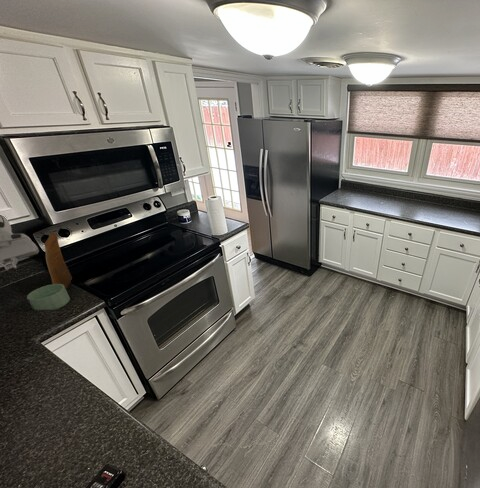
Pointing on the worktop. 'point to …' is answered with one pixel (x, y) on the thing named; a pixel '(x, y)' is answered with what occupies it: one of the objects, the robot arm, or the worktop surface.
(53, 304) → the bowl
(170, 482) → the worktop surface
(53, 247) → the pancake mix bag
